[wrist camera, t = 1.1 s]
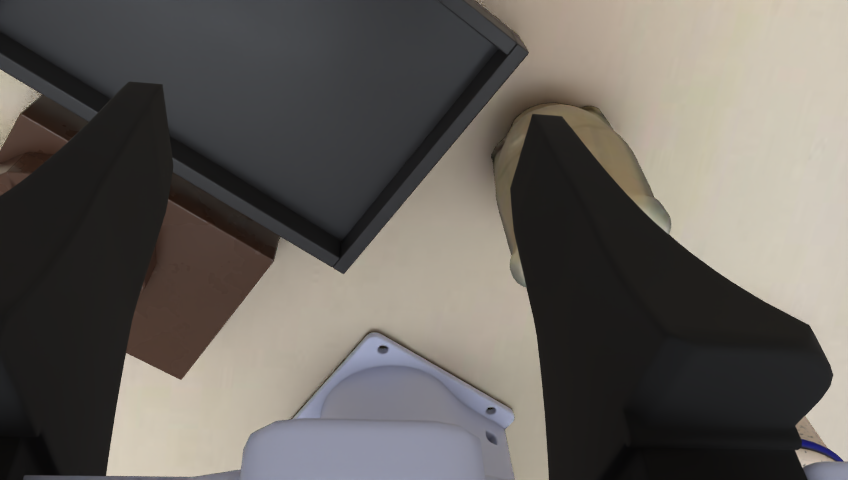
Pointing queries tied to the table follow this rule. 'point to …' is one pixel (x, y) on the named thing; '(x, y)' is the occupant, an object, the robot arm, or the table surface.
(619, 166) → the cream clay lump
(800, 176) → the table surface
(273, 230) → the tray
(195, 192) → the brown button base
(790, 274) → the table surface
